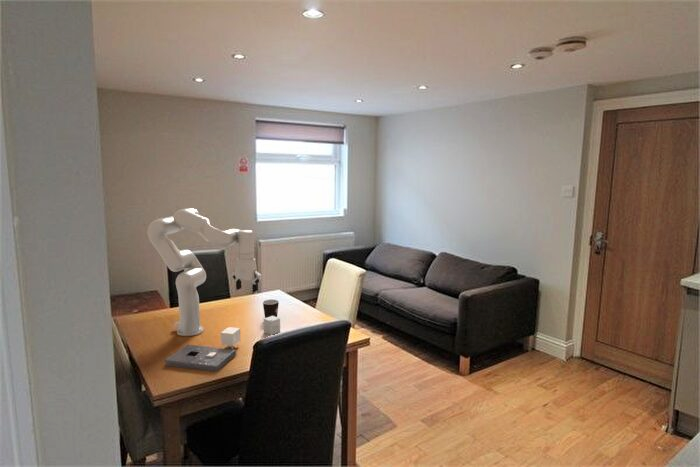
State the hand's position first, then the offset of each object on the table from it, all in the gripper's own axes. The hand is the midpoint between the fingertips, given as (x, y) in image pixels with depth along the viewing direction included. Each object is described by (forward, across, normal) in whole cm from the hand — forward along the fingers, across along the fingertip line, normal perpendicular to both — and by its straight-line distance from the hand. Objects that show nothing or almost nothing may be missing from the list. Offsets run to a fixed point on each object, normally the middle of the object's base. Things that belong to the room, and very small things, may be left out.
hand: (246, 290), depth 204 cm
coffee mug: (+24, -3, +26) cm, 36 cm away
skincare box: (+24, +7, +10) cm, 27 cm away
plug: (+24, +1, -14) cm, 27 cm away
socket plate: (+24, -2, -30) cm, 38 cm away
